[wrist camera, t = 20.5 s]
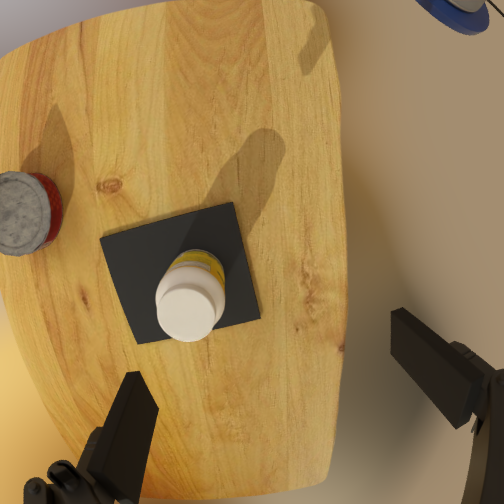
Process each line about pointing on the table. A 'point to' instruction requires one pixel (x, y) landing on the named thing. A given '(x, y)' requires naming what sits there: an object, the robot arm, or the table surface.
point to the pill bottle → (191, 296)
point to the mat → (162, 256)
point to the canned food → (28, 212)
